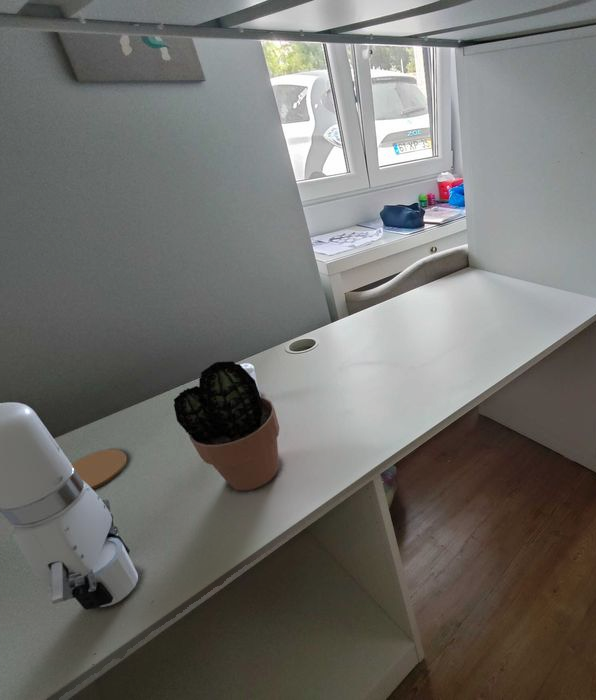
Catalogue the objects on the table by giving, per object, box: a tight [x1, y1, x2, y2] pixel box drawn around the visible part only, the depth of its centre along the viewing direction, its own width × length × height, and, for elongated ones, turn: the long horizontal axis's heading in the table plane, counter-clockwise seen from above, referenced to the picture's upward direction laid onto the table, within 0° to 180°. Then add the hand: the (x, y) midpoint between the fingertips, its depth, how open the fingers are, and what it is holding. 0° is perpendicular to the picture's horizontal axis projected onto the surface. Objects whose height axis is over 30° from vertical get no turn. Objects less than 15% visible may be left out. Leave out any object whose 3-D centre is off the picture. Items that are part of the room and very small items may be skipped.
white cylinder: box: [74, 537, 139, 608], centre depth 63 cm, size 7×7×7 cm
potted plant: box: [173, 360, 280, 491], centre depth 77 cm, size 14×14×25 cm
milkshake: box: [240, 362, 262, 397], centre depth 101 cm, size 4×5×10 cm
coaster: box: [71, 449, 128, 490], centre depth 85 cm, size 11×11×1 cm
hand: (109, 578), depth 64 cm, fingers closed on white cylinder, 6 cm apart
